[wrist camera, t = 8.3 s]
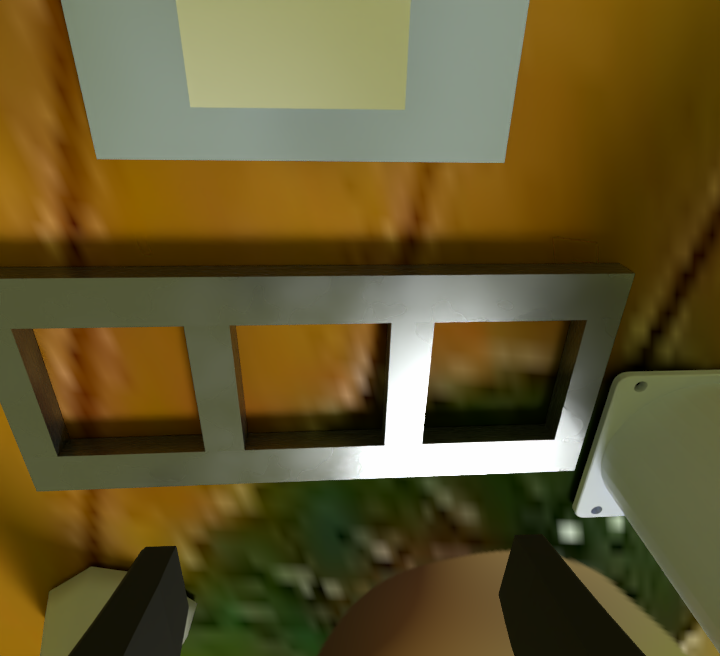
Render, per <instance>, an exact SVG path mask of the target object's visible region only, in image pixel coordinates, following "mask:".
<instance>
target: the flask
mask: <svg viewBox="0 0 720 656" xmlns="http://www.w3.org/2000/svg"><path fill="white" fill-rule="evenodd" d="M126 573H127V571H120V570H113V569H106V568H99V567H92V566H91V567H89V568H88V569H86V570H84V571H83V572H81V573H79V574H78V575H76V576H74V577H73V578H71V579H69V580H68V581H66V582H64V583H63V584H61V585H59V586H58V587H56V588H54V589H53V590H51V591H49V596H48V602H47V608H46V614H45V622H44V630H43V637H42V645H41V653H40V656H68V655H69V654H70V652H71V651H72V649H73V648H74V647H75V645H76V644H77V643H78V641H79V640H80V639H81V637H82V636H83V635H84V633H85V632H86V631H87V629H88V628H89V626H90V625H91V624H92V622H93V621H94V620H95V618H96V617H97V615H98V614H99V613H100V611H101V610H102V608H103V607H104V605H105V604H106V603H107V601H108V600H109V598H110V597H111V595H112V594H113V593H114V591H115V590H116V588H117V587H118V585H119V584H120V582H121V581H122V579H123V578H124V576H125V575H126ZM187 600H188V605H189V610H188V615H187V621H186V626H185V632H184V638H183V643H184V641H185V639H186V637H187V636H188V632H189V629H190V625H191V622H192V619H193V615H194V612H195V608H196V605H197V603H196V602H194V601H193V600H191V599H190V598H188V597H187ZM183 643H182V644H183Z"/></svg>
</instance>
